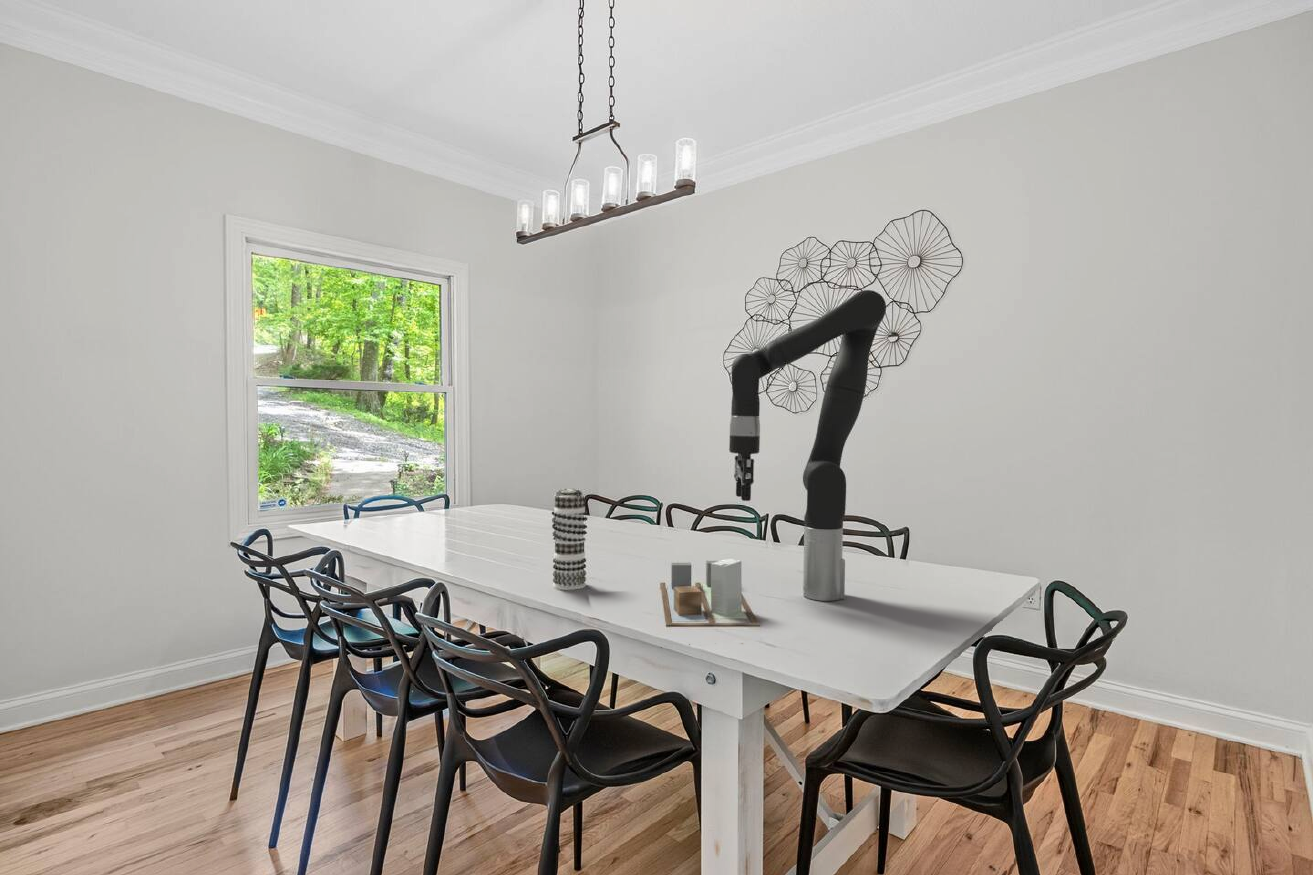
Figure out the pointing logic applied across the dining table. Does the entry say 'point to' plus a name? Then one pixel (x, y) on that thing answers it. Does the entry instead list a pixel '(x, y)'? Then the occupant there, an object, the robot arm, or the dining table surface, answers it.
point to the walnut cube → (687, 600)
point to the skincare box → (726, 587)
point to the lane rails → (707, 611)
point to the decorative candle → (569, 539)
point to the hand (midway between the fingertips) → (743, 498)
